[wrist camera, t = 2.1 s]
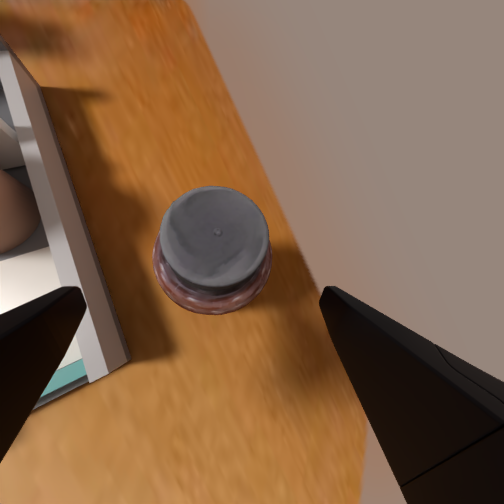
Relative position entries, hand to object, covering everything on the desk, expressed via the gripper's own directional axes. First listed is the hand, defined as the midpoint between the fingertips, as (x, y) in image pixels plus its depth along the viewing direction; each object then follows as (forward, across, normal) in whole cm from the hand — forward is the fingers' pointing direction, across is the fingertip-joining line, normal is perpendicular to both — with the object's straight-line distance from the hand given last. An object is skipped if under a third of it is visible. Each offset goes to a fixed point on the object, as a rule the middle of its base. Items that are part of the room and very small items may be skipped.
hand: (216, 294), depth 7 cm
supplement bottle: (+9, 0, +6) cm, 11 cm away
